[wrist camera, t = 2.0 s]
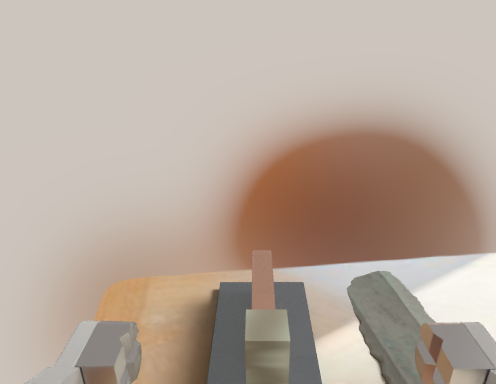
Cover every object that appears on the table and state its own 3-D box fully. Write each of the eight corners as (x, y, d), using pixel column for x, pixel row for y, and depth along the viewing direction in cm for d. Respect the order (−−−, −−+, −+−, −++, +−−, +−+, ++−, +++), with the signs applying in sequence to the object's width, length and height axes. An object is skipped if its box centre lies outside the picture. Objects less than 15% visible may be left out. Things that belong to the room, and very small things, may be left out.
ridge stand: (302, 288, 55) (305, 241, 52) (323, 402, 39) (328, 344, 35) (220, 289, 55) (217, 242, 52) (206, 402, 39) (200, 344, 36)
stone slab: (402, 427, 38) (497, 407, 38) (402, 409, 37) (500, 388, 37) (332, 287, 58) (395, 275, 59) (331, 272, 57) (395, 260, 57)
